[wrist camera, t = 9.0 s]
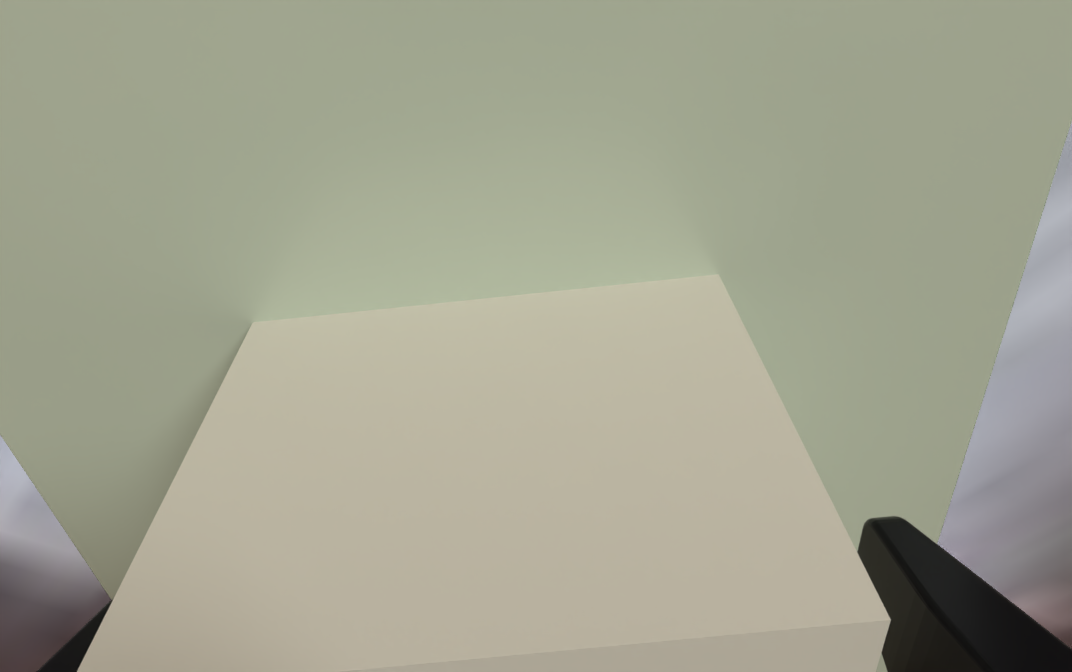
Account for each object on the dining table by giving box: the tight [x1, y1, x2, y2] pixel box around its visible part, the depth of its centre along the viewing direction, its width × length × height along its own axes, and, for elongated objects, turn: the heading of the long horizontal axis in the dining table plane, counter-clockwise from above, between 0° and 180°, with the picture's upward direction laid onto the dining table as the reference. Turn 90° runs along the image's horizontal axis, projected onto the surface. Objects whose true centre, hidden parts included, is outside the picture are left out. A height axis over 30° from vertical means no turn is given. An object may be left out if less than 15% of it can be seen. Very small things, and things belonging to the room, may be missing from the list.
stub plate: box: [0, 0, 1072, 672], centre depth 10 cm, size 14×16×4 cm
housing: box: [77, 274, 891, 672], centre depth 9 cm, size 6×6×5 cm
